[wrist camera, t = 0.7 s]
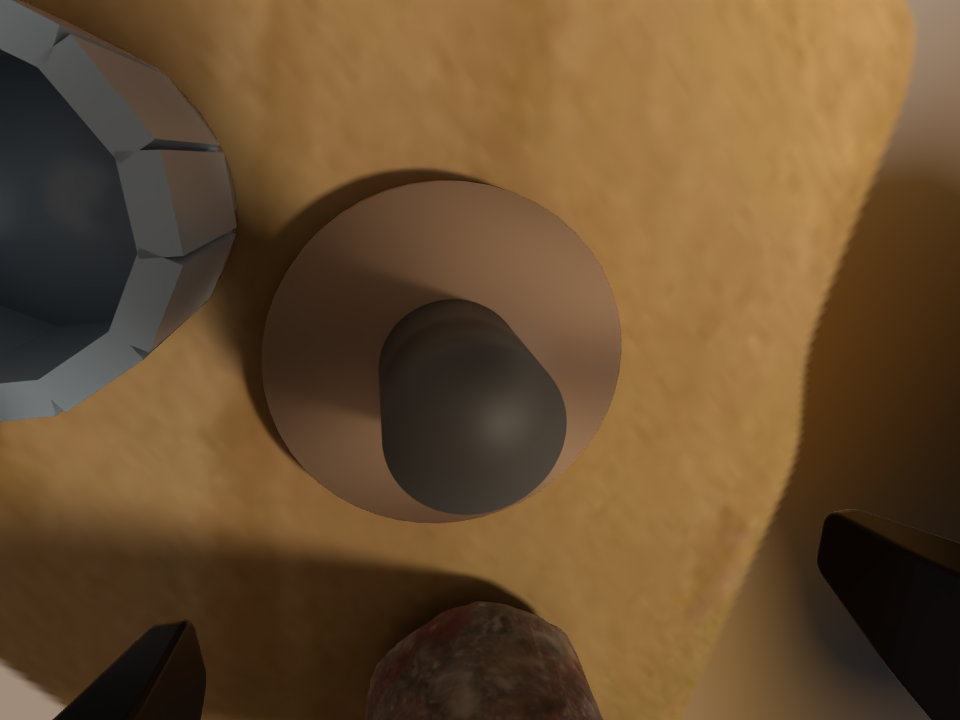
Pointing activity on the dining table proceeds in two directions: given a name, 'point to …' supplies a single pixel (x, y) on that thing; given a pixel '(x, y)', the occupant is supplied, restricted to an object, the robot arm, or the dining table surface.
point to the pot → (97, 212)
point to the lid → (441, 351)
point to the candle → (482, 670)
